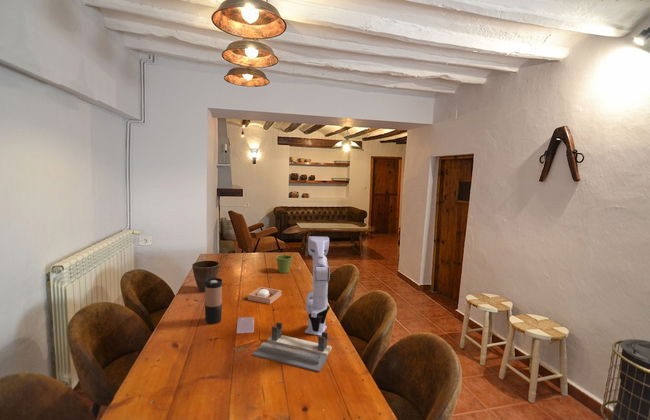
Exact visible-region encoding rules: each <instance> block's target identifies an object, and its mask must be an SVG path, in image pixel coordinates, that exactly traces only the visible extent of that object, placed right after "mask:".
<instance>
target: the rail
mask: <svg viewBox="0 0 650 420" xmlns="http://www.w3.org/2000/svg"><path fill="white" fill-rule="evenodd" d="M265 342H266V341H263V342H262V343H261V344H260V346H261V350H263V351H267V352H271V353H275V354H280V355H284V356H288V357H292V358H296V359H300V360H304V361H308V362H312V363H316V364H319V363H320V361H321V356H320V355H316V354H312V353H311V352H310V353H307V352H303V351H299V350H295V349H294V348H293V349H291V348H286V347H282V346H278V345H277V344H276V345H274V344H269V343H265Z"/></svg>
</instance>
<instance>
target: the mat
mask: <svg viewBox="0 0 650 420" xmlns="http://www.w3.org/2000/svg"><path fill="white" fill-rule="evenodd" d="M264 342H265V343H268V342H267V341H264ZM269 344H272V343H269ZM274 345H277V344H274ZM278 346H281V345H278ZM282 347H285V346H282ZM286 348H289V347H286ZM291 349H294V348H291ZM295 350H298V349H295ZM299 351H302V350H299ZM303 352H306V351H303ZM307 353H311V352H307ZM312 354H315V353H312ZM251 355H252V356H254V357H257V358H262V359H266V360H270V361H272V362H278V363H282V364H285V365H289V366H294V367H298V368H301V369H305V370H309V371H312V372H317V373H320V372H321V370H322V369H323V366H324V365H325V363H326V362H327V360H328V356H323V355H320V356H321V361H320V363H319V364H316V363H312V362H308V361H304V360H300V359H296V358H292V357H288V356H284V355H280V354H275V353H271V352H267V351H263V350H261V345H260V346H259V347H258V348H257V349H256V350H254V352H253V353H252V354H251ZM316 355H319V354H316Z"/></svg>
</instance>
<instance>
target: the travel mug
mask: <svg viewBox="0 0 650 420" xmlns="http://www.w3.org/2000/svg"><path fill="white" fill-rule="evenodd" d="M222 307H223V279H222V278H219V277H217V278H210V279H207V280H206V281H205V292H204V320H205V321H204V323H206V324H207V325H217V324H219V323H220V322H221V321H222V310H223V309H222Z"/></svg>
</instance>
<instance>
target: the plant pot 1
mask: <svg viewBox="0 0 650 420" xmlns="http://www.w3.org/2000/svg"><path fill="white" fill-rule="evenodd" d="M191 265H192V273H193V277H194V279H195V283H196V286H197V288H198V290H199V292H201V293H205V281H206V280H207V279H210V278H218V273H219V268H220V262H219V261H216V260H201V261H195V262H194V263H192V264H191Z"/></svg>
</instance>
